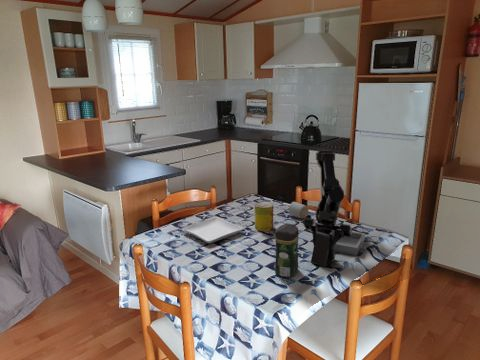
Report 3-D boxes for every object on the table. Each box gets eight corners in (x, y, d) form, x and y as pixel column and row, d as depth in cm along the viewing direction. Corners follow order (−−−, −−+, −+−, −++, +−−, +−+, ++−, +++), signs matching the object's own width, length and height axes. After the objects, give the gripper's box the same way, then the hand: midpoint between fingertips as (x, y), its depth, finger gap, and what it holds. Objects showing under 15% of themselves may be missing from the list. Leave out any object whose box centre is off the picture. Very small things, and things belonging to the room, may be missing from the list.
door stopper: (324, 267, 144) (325, 238, 141) (310, 262, 148) (311, 234, 144) (335, 258, 150) (336, 231, 147) (321, 254, 154) (322, 227, 151)
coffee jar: (281, 264, 148) (281, 220, 143) (300, 268, 144) (301, 223, 139) (271, 275, 139) (271, 229, 134) (292, 280, 136) (292, 233, 131)
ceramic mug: (301, 220, 192) (301, 206, 190) (288, 217, 197) (288, 203, 196) (312, 215, 200) (312, 201, 198) (299, 212, 205) (299, 198, 203)
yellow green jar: (270, 232, 179) (270, 208, 176) (252, 230, 182) (252, 206, 179) (275, 225, 187) (275, 202, 184) (258, 223, 190) (257, 201, 187)
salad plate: (208, 248, 164) (208, 240, 163) (182, 234, 180) (181, 227, 179) (244, 234, 178) (244, 227, 177) (216, 222, 193) (216, 216, 192)
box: (323, 249, 160) (323, 241, 159) (333, 235, 173) (333, 228, 172) (356, 255, 153) (357, 247, 152) (364, 241, 167) (364, 233, 166)
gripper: (304, 199, 150) (294, 234, 144) (352, 205, 142) (343, 243, 135) (310, 211, 159) (301, 245, 153) (355, 218, 150) (347, 254, 144)
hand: (322, 246), depth 146 cm, fingers closed on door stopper, 6 cm apart
